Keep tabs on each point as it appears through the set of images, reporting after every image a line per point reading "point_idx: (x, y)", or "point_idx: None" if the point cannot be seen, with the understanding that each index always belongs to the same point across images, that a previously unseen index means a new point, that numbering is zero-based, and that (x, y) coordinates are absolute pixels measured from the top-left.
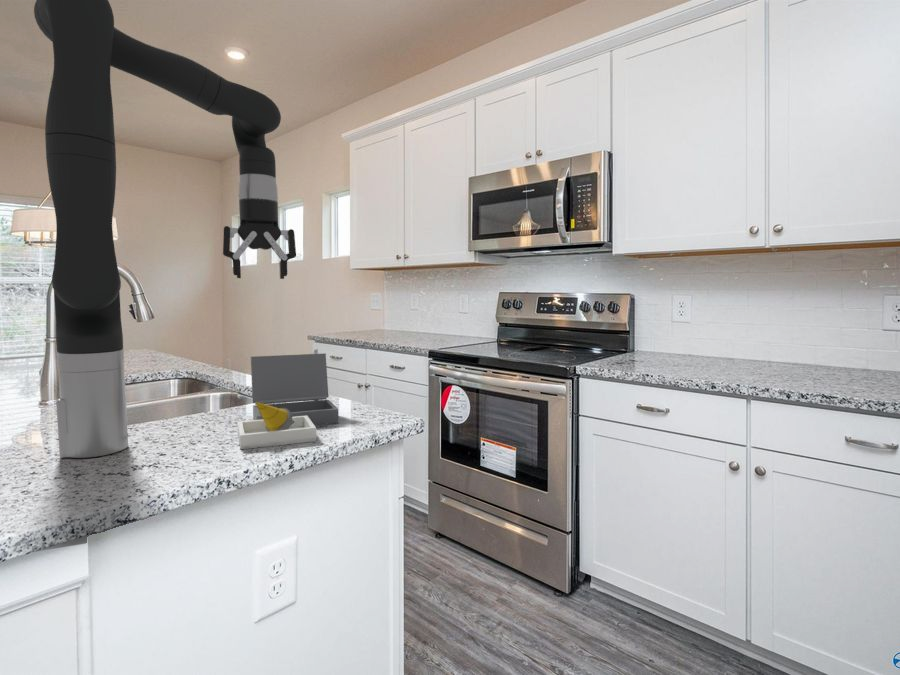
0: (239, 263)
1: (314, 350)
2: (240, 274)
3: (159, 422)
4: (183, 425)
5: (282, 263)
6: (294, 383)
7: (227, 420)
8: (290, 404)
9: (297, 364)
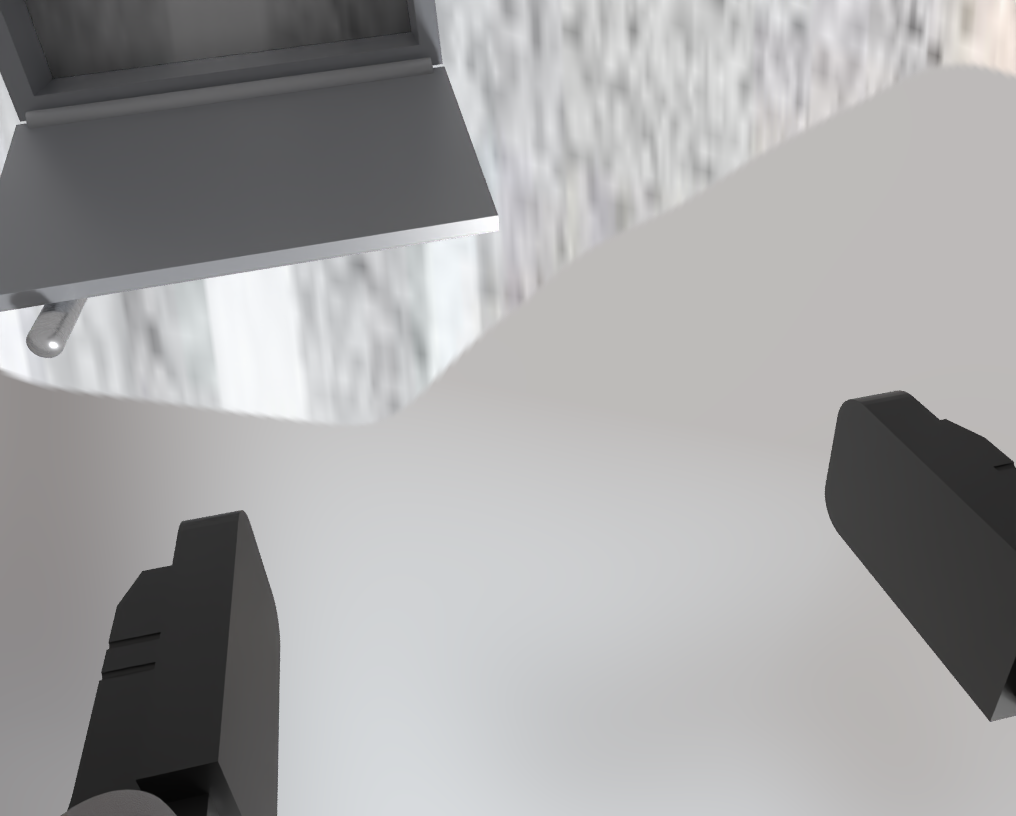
0: (1010, 526)
1: (52, 326)
2: (878, 415)
3: (812, 105)
4: (727, 17)
5: (176, 726)
6: (215, 148)
7: (549, 64)
8: (242, 66)
9: (187, 221)
